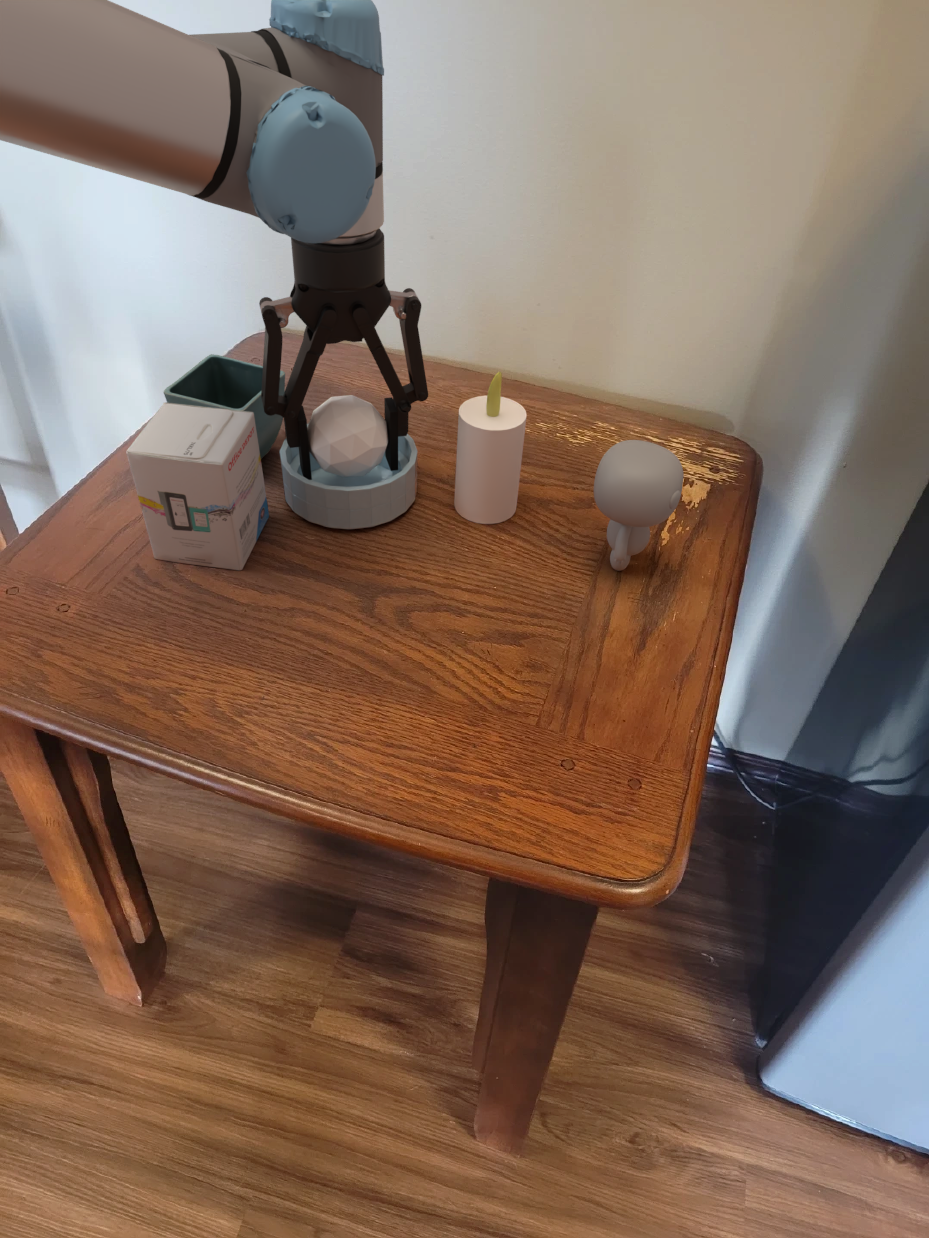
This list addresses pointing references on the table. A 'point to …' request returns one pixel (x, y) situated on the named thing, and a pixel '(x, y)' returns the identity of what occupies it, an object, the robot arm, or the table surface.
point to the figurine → (636, 494)
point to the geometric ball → (347, 436)
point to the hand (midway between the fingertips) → (349, 467)
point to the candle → (489, 456)
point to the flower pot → (229, 392)
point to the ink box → (200, 484)
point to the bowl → (351, 490)
